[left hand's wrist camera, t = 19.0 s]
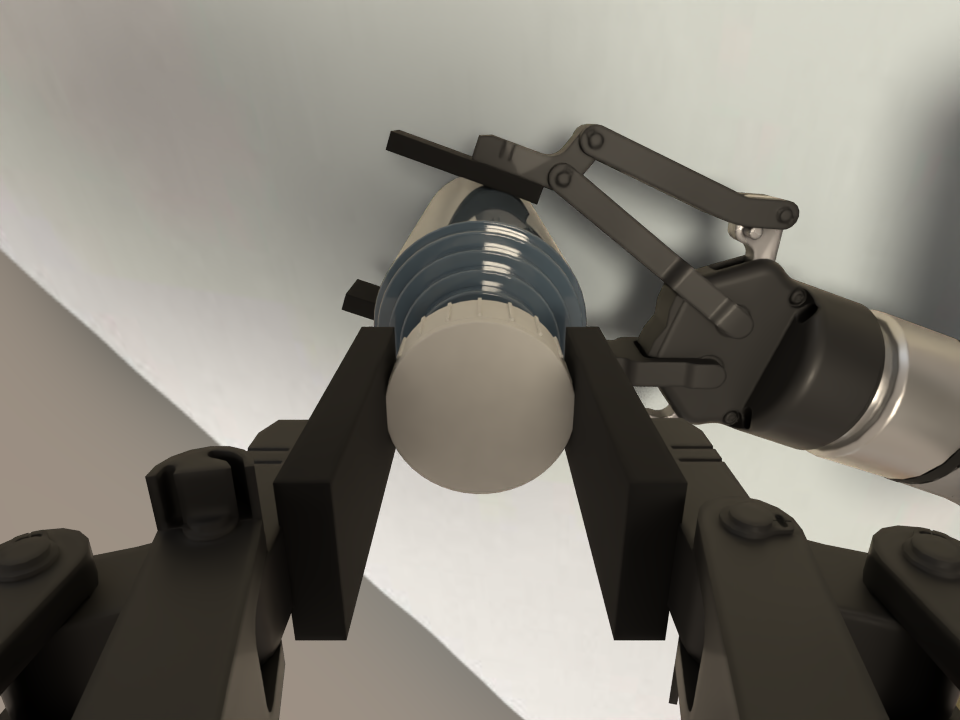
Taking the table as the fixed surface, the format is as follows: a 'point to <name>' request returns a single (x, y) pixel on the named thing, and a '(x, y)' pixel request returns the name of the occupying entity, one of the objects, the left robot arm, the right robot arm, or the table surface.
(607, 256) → the table surface
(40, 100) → the table surface
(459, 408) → the cap
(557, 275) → the bottle
